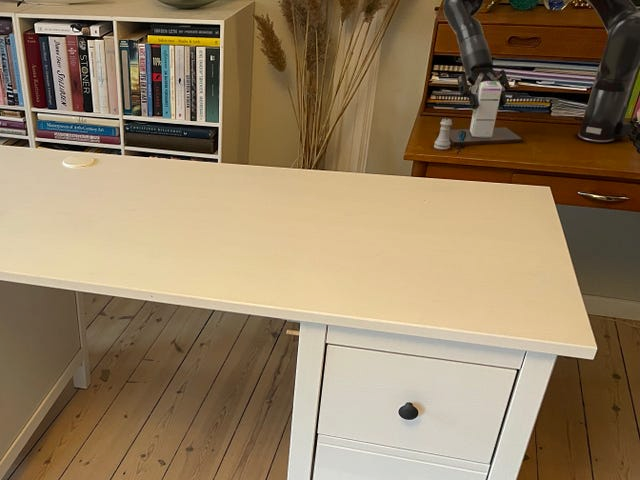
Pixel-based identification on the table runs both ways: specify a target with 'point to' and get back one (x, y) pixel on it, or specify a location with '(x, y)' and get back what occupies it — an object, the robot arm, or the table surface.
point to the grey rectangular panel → (497, 137)
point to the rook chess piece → (443, 135)
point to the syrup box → (486, 109)
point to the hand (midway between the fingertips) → (489, 106)
